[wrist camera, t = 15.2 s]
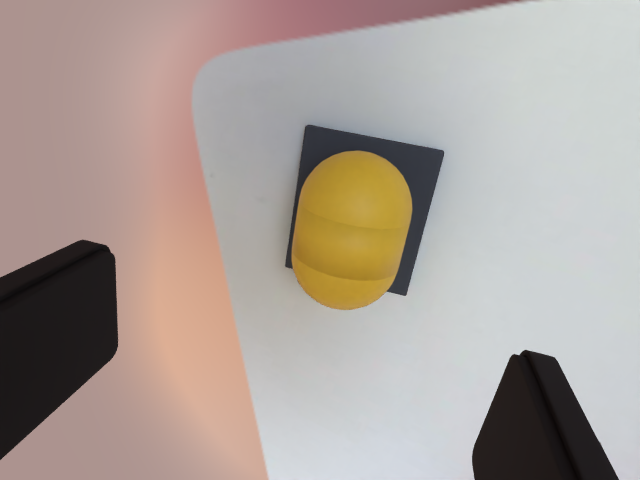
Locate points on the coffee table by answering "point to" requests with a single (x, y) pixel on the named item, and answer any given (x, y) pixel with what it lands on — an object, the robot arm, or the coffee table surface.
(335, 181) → the yellow grooved capsule
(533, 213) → the coffee table surface
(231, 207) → the coffee table surface
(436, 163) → the mat
